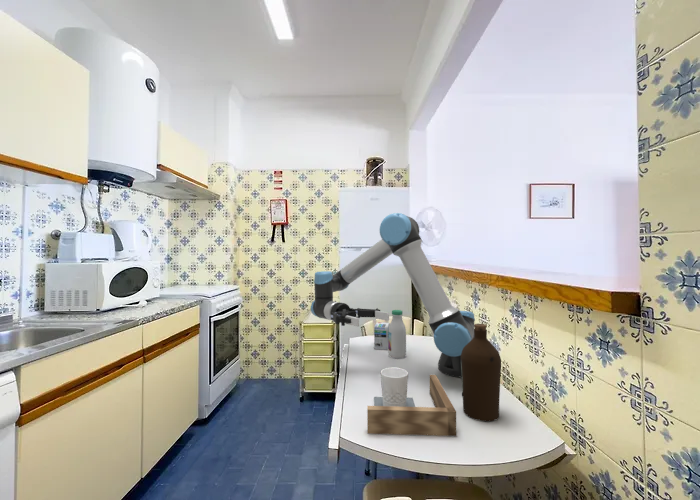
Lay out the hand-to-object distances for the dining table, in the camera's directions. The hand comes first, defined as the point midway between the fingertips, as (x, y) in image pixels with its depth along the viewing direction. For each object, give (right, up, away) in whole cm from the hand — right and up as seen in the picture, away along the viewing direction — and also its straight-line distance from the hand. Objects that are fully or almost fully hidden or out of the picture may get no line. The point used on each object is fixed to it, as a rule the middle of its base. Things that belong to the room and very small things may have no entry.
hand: (373, 319), depth 109 cm
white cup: (+5, -23, -15) cm, 27 cm away
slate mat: (+5, -23, -15) cm, 27 cm away
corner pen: (+8, -23, -17) cm, 29 cm away
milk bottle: (+13, -23, +32) cm, 41 cm away
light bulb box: (+7, -23, +46) cm, 52 cm away
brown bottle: (+29, -23, -18) cm, 41 cm away
